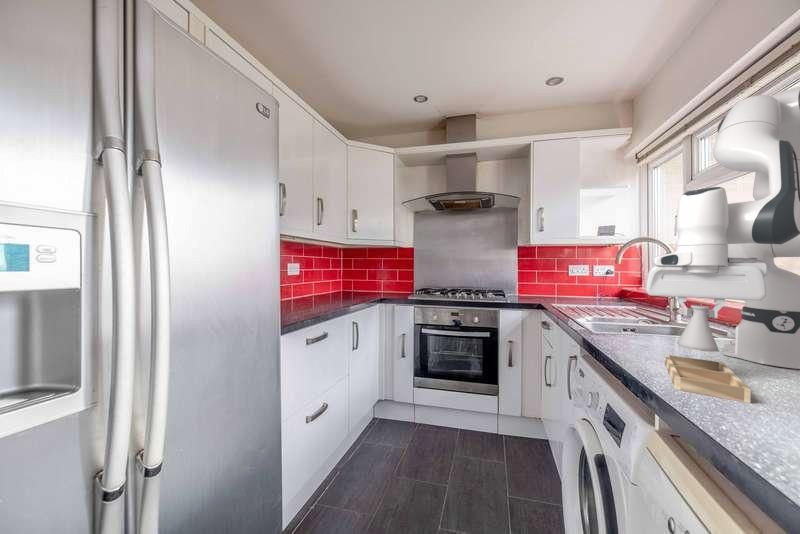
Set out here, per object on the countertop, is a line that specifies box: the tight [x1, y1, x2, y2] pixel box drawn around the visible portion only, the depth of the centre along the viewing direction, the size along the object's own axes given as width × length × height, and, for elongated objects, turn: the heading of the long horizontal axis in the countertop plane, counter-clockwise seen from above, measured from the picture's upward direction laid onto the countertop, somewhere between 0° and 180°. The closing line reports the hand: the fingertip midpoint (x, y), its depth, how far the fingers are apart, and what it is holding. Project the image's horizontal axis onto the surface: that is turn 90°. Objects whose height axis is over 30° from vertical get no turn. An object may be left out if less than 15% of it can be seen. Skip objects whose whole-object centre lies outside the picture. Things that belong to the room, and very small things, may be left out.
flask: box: [676, 304, 720, 353], centre depth 74 cm, size 7×7×10 cm
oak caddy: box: [664, 354, 752, 404], centre depth 70 cm, size 20×11×2 cm, turn 145°
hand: (699, 317), depth 74 cm, fingers closed on flask, 3 cm apart
